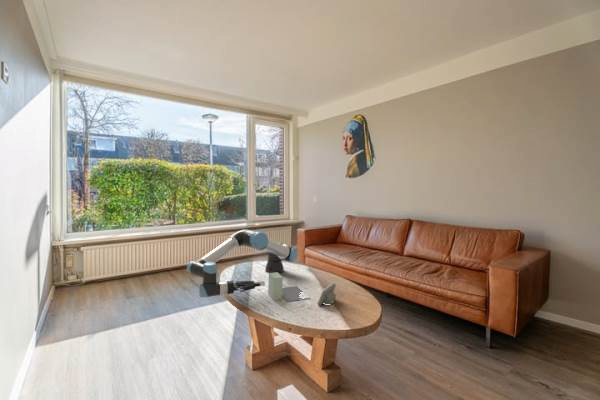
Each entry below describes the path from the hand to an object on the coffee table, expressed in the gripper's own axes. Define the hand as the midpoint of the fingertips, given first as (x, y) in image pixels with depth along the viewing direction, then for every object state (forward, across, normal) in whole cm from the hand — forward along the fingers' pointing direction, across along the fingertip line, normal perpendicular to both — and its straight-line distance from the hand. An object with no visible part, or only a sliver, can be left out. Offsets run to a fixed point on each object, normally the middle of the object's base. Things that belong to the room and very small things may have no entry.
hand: (264, 283), depth 180 cm
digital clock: (+34, +19, -10) cm, 41 cm away
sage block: (+7, 0, -10) cm, 12 cm away
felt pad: (+19, 0, -10) cm, 22 cm away
